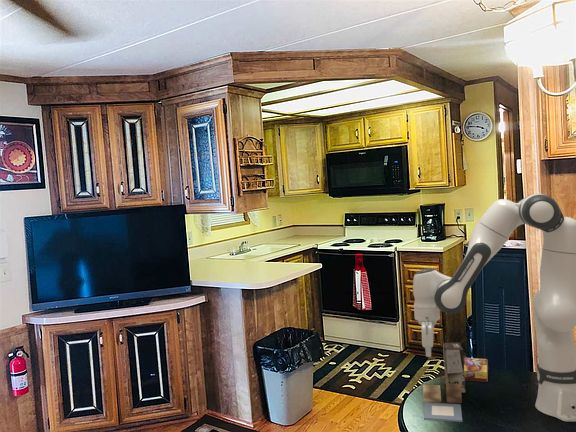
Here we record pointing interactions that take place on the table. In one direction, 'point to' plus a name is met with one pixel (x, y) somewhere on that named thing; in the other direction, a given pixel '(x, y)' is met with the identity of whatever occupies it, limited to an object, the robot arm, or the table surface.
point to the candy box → (476, 369)
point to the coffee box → (454, 364)
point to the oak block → (432, 393)
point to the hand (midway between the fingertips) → (428, 351)
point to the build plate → (443, 412)
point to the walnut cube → (453, 393)
